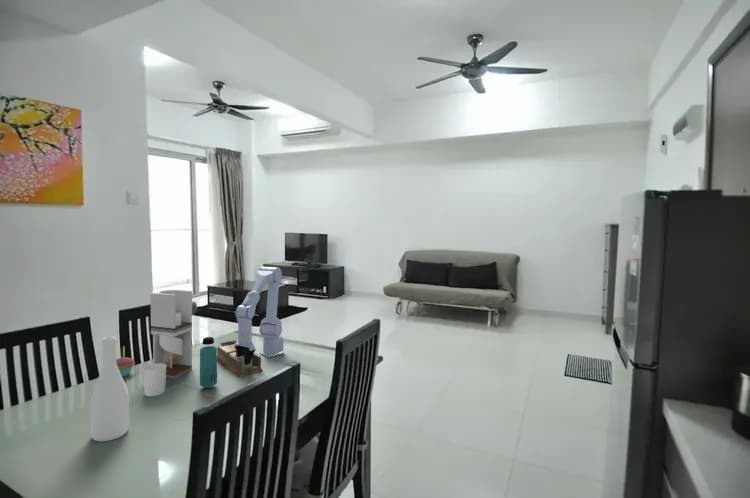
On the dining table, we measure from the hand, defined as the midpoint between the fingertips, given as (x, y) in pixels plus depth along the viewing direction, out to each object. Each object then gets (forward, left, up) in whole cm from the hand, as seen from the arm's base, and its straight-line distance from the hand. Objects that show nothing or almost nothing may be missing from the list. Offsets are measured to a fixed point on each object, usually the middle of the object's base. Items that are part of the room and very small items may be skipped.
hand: (244, 362), depth 173 cm
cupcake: (+41, -26, -4) cm, 49 cm away
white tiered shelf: (+25, -16, -4) cm, 30 cm away
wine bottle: (+54, +24, -4) cm, 59 cm away
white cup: (+36, +1, -4) cm, 36 cm away
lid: (0, -12, +3) cm, 12 cm away
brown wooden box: (0, -6, -3) cm, 7 cm away
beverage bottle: (+19, +9, -4) cm, 21 cm away
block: (0, 0, -3) cm, 3 cm away
